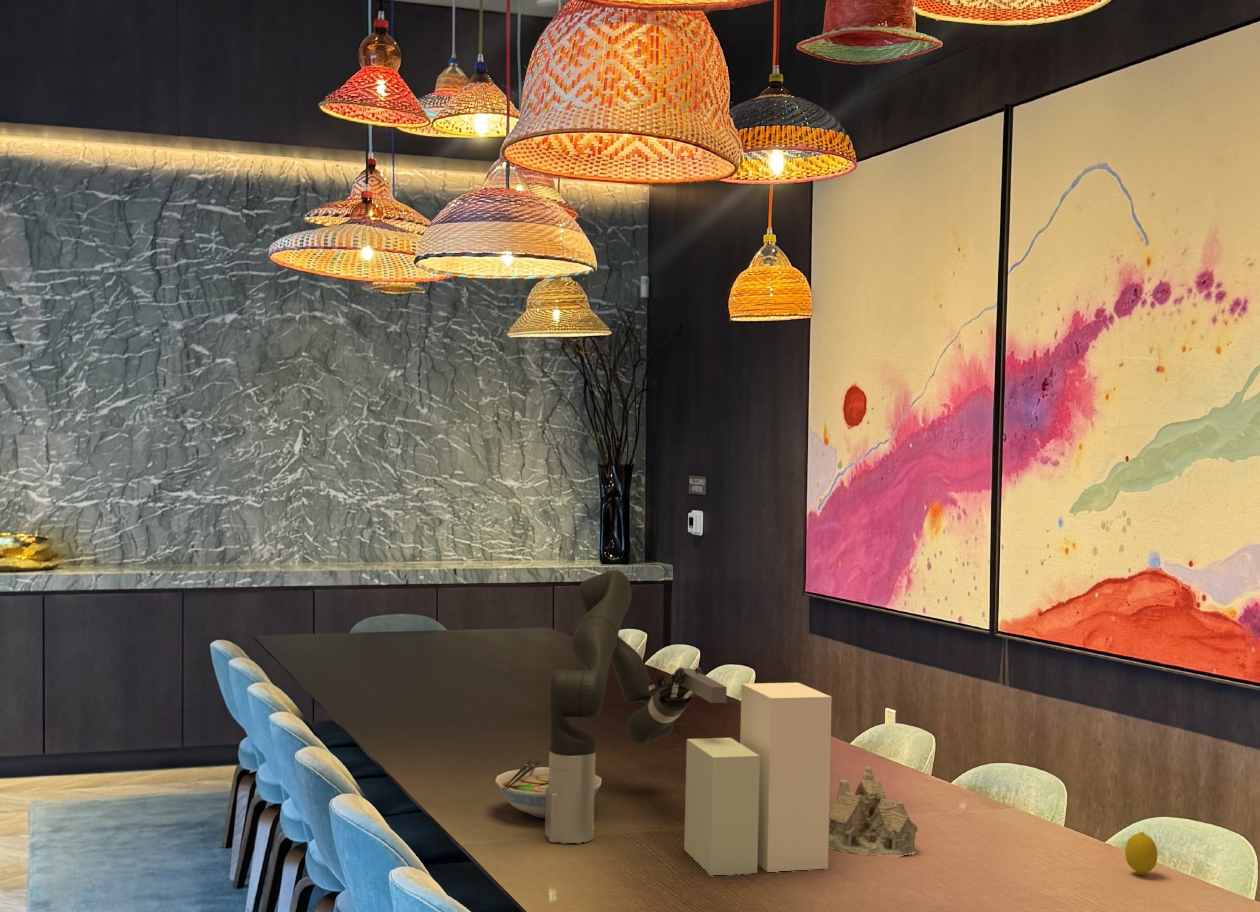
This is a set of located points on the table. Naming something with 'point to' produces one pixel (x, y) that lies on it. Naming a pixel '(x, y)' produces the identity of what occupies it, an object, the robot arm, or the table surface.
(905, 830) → the ceramic cottage
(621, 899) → the table surface
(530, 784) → the ramen bowl
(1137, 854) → the lemon
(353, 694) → the table surface
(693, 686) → the rod
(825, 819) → the white stand
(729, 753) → the beige rectangular block
